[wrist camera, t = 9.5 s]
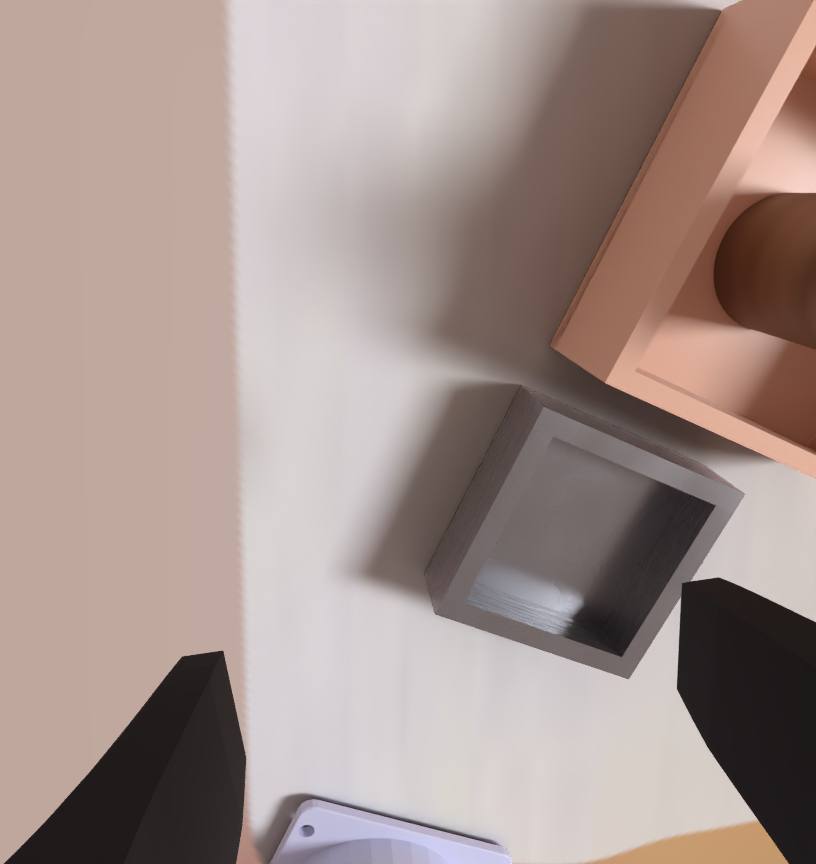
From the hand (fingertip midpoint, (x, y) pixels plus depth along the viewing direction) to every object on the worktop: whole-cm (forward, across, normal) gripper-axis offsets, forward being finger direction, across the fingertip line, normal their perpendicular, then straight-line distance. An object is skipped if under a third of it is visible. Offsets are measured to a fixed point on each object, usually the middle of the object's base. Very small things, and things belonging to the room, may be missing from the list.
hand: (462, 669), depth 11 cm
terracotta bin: (+9, -11, -4) cm, 15 cm away
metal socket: (+9, -5, +3) cm, 11 cm away
